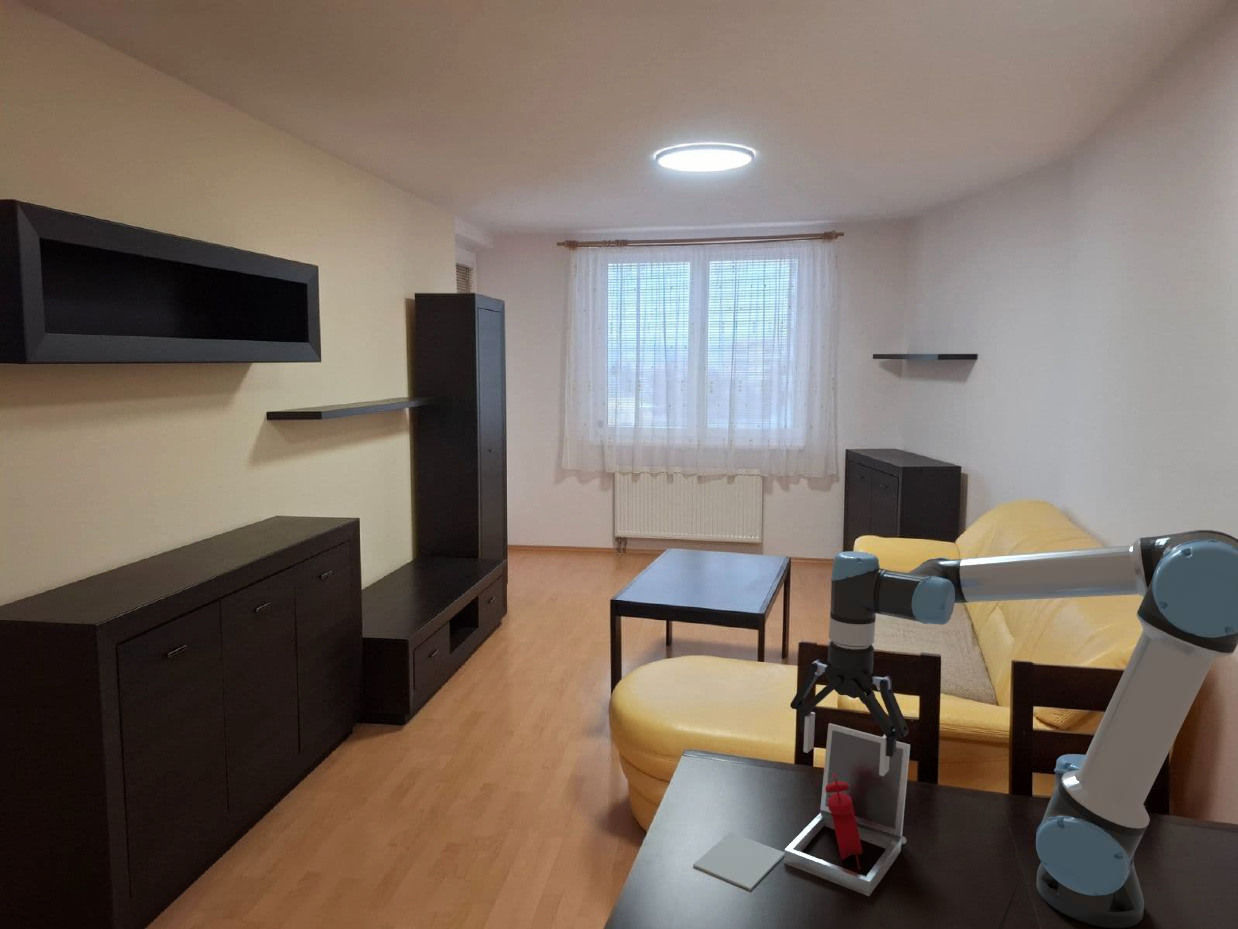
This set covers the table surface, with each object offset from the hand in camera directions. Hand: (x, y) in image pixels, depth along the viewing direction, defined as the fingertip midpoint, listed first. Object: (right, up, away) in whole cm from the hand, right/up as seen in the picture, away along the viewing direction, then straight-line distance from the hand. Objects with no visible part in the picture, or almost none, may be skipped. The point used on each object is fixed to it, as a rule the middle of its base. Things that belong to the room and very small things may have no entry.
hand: (845, 761), depth 141 cm
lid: (+5, -6, +7) cm, 11 cm away
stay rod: (+11, -17, +7) cm, 22 cm away
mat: (-18, -17, 0) cm, 25 cm away
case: (0, -18, +1) cm, 18 cm away
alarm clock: (0, -18, +1) cm, 18 cm away
